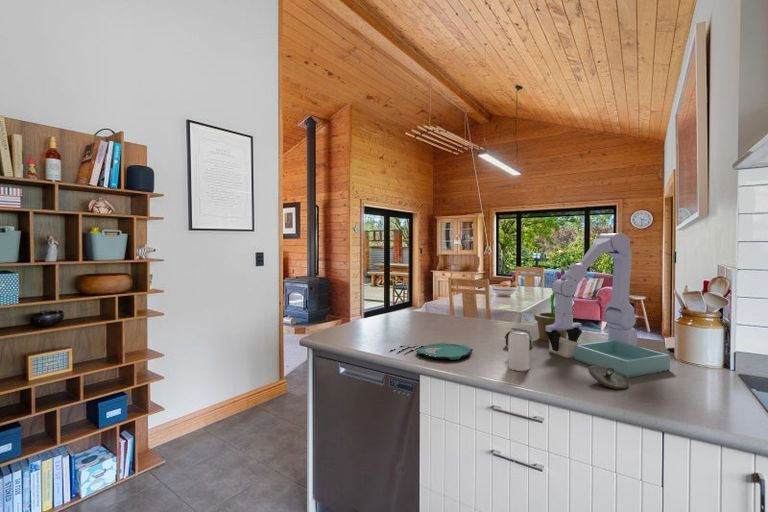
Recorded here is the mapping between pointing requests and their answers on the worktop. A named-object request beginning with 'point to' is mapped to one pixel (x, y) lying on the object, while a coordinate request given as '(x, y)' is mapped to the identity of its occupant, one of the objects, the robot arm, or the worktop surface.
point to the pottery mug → (507, 339)
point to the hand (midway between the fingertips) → (563, 349)
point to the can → (518, 350)
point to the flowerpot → (548, 317)
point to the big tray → (623, 358)
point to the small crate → (564, 348)
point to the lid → (608, 377)
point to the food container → (526, 331)
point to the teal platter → (446, 351)
